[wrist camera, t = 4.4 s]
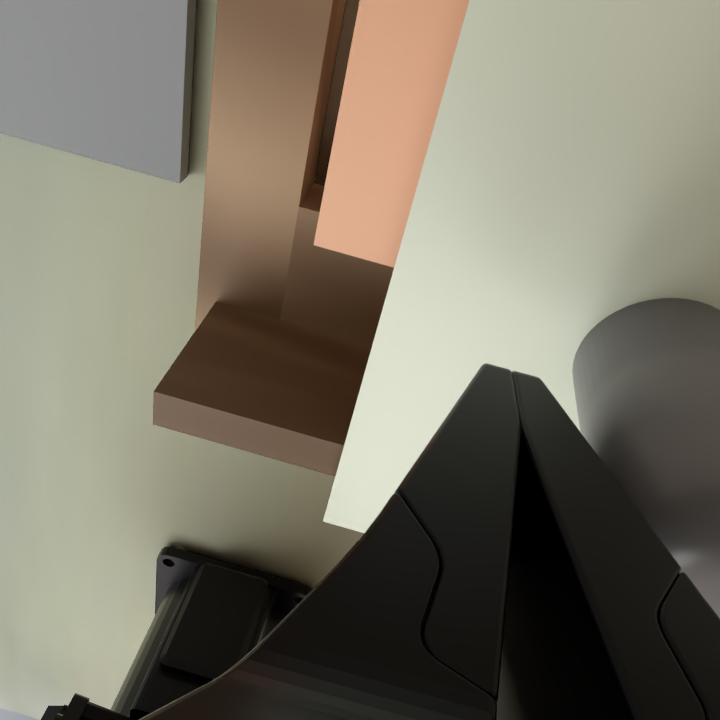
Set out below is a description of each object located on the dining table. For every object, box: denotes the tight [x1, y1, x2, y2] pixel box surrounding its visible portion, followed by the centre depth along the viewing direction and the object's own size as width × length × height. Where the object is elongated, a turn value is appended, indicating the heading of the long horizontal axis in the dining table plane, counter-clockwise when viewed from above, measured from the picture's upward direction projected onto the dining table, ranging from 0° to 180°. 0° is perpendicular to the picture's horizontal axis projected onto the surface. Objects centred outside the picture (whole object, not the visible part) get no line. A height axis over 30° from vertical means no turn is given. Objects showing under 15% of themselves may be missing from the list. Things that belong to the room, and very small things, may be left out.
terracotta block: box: [314, 0, 469, 268], centre depth 12 cm, size 4×4×5 cm
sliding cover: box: [323, 0, 720, 618], centre depth 9 cm, size 12×9×5 cm
